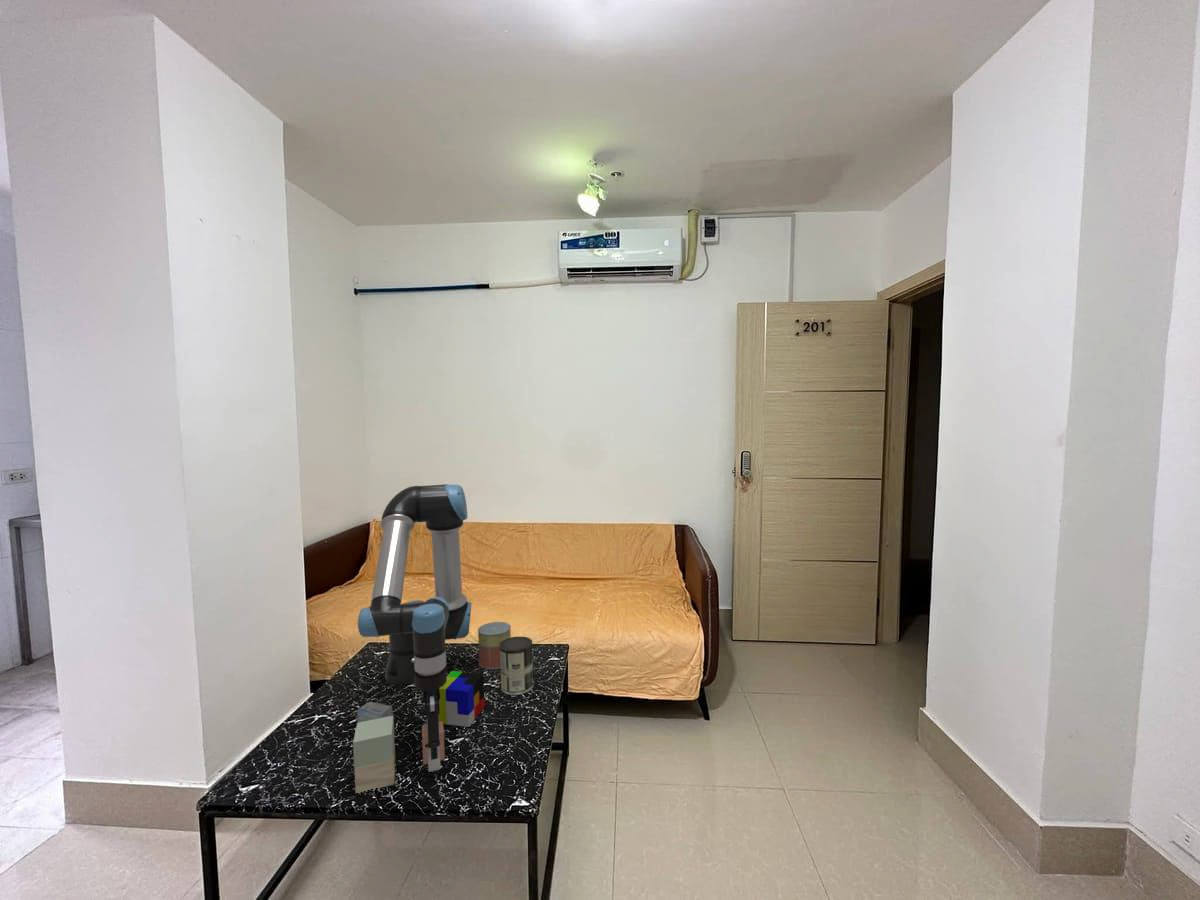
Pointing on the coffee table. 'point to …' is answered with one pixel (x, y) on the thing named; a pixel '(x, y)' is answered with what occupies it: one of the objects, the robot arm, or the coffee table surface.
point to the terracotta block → (425, 741)
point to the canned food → (492, 643)
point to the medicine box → (373, 711)
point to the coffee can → (516, 665)
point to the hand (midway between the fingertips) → (433, 755)
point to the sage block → (373, 741)
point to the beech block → (375, 775)
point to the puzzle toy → (461, 698)
